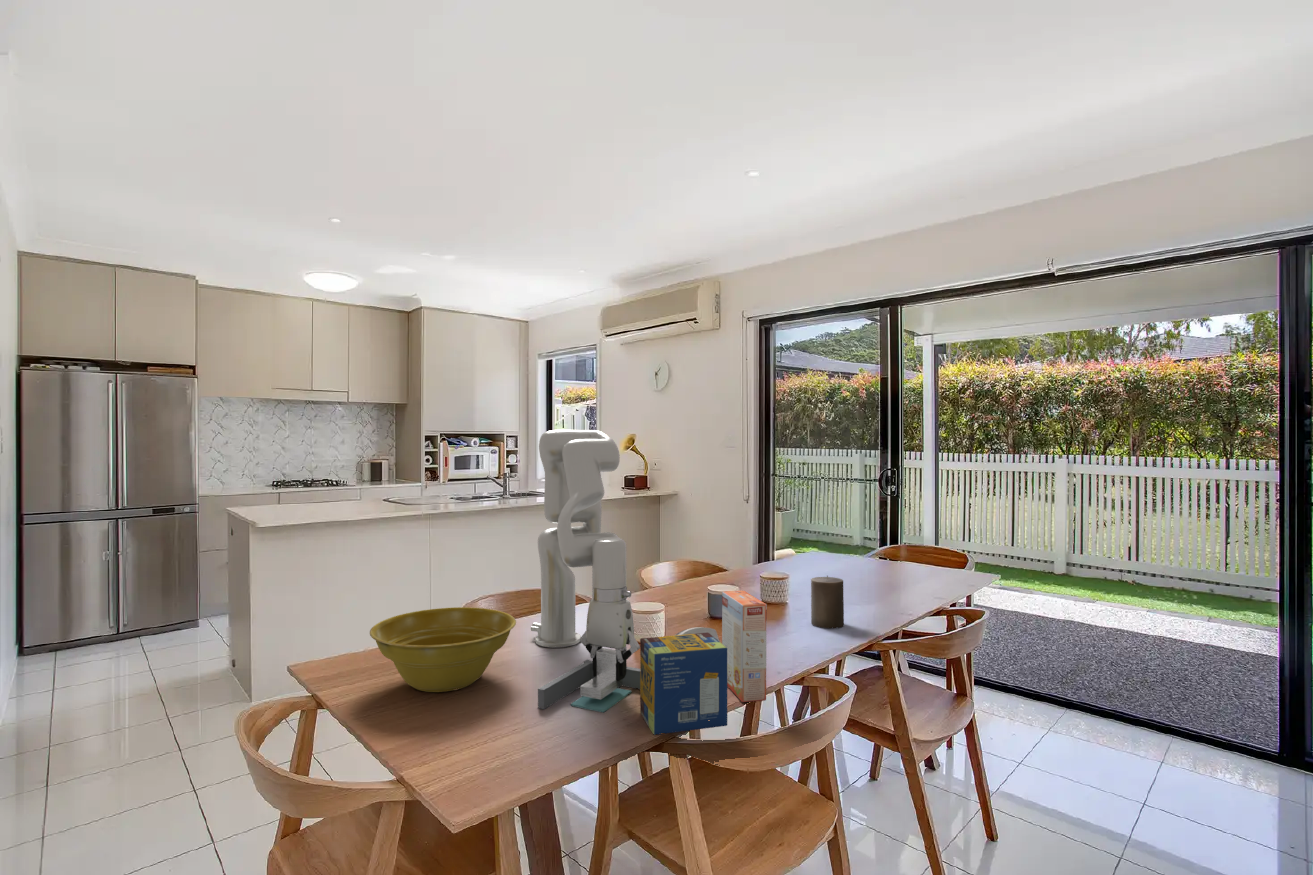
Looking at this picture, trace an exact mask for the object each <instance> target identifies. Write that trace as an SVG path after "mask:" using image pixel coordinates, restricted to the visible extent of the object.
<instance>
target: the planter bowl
mask: <svg viewBox="0 0 1313 875" xmlns="http://www.w3.org/2000/svg"><path fill="white" fill-rule="evenodd" d="M516 623H517V620H516V618H515V617H514V616H513V615H511V614H510V613H507V612H504V611H501V610H498V609H497V610H496V609H491V608H484V607H470V606H469V607H467V606H465V607H460V606H459V607H458V606H457V607H441V608H440V607H439V608H431V609H423V610H416V611H411V612H406V613H402V614H399V615H394V616H392V617H389V618H386V619H383V620H381V621H379V622H378V623H376V624H375V625H373V626H372V627H371V628H370V630H369V636H370V638H372V639H373V640H374V641H375V642H376V645H377V647H378V649H379V652H380V653H381V654H382V656H383V657H385V658H387V659H389V660H390V661H391V662H392V663H393V664H394V666H395V668H396V670H397V673H399V675H400V676H401V678H402V679H403V680H404V682H405V683H406V684H407V685H408V686H411V687H412V688H413V689H416V690H418V691H422V692H426V693H427V692H428V693H443V692H452V691H456V690H457V691H458V690H460V689H463V688H467V687H468V686H470V685H472V684H473V683H475V681H477V680H478V679H480V678H481V677H482V675H483V674H484V673H485V671H486V669H487V668H488V666H489V664H490V663H491V661H492V658H493V656H494V654H495V653H496V652H497V651H498V650H500V649H501V648H502V647H503V646H504V645H505V644H506V642H507V640H508V638H509V636H510V634H511V630H513V629H514V627H515V626H516V625H517V624H516Z"/></svg>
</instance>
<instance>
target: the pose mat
mask: <svg viewBox="0 0 1313 875" xmlns="http://www.w3.org/2000/svg"><path fill="white" fill-rule="evenodd" d="M631 693H632V690H630V689H623V688H620V687H618V688H617V689H616V690H614V691H613V692H611V693H610V694H608V695H607V696H605V697H604V698H602V699H601V700H600V699H595V698H590V697H585V696H581V697H579V698H577V699H576V700H574V701H573V702H572V703H570V706H571V707H576V708H581V709H585V710H591V711H593V712H594V711H595V712H599V713H606V712H607V711H608V710H609V709H611V708H612V707H614V706H615V705H616V704H618V703H619V702H621V701H622V700H623V699H624V698H626V697H628V696H629V695H630V694H631ZM628 694H629V695H628ZM617 702H618V703H617Z"/></svg>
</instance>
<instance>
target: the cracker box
mask: <svg viewBox="0 0 1313 875" xmlns="http://www.w3.org/2000/svg"><path fill="white" fill-rule="evenodd" d="M721 597H722V598H721V599H722V600H721V601H722V602H721V603H722V604H721V612H722V614H721V618H722V619H721V620H722V621H721V625H722V626H721V643H722V644H723V645H724V646H725V647H727V688H729V690H730V691H731V692H732V693H733V694H734V695H735V696H736V697H737V699H738V700H740V701H741V703H749V702H750V703H752V702H765V701H767V624H768V622H767V614H768V613H767V612H768V611H767V610H768V609H767V608H768V607H767V606H768V605H767V603H765V602H763V601H762V600H760V599H758V598H757V597H755V596H754V595H751V593H749V592H747V591H746V590H729V591H722V596H721Z"/></svg>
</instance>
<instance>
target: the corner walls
mask: <svg viewBox="0 0 1313 875" xmlns="http://www.w3.org/2000/svg"><path fill="white" fill-rule="evenodd" d="M626 670H627V672H626V675H625V678H623V679H622V685H621V686H620V687H625V686H626V687H627V688H630V687H632V688H631V689H636V688H638V689H637V690H640V668H637V667H632V666H627V665H626ZM593 678H594V676H593V660H591V659H590V660H589V659H586V660H584V661H583V663H581V664H580V665H578V666H576V667H574V668H572V669H571V670H569V671H567V672H565V673H563V674H562V675H560V676H559V677H556V678H555V679H553V680H551V681H549V682H548V683H546V684H544V685H542V686H540V687H539V688H538V689H537V708H538V709H541V710H545V709H547V708H548V707H550V706H552V705H553V704H556V702H559V701H560V700H561V699H564V697H566V696H568V695H569V694H571V693H572V692H574V691H576V690H577V689H579V688H580V686H581V685H583V684H585V683H586V682H588V681H589V680H591V679H593Z"/></svg>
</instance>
